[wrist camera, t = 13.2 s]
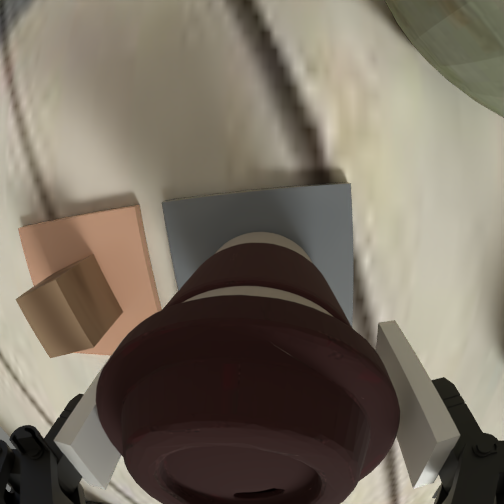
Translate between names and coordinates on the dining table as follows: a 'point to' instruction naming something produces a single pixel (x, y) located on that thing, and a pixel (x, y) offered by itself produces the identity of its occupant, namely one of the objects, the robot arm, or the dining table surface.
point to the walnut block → (71, 308)
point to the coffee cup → (249, 386)
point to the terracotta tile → (99, 261)
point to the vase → (459, 43)
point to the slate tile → (268, 228)
